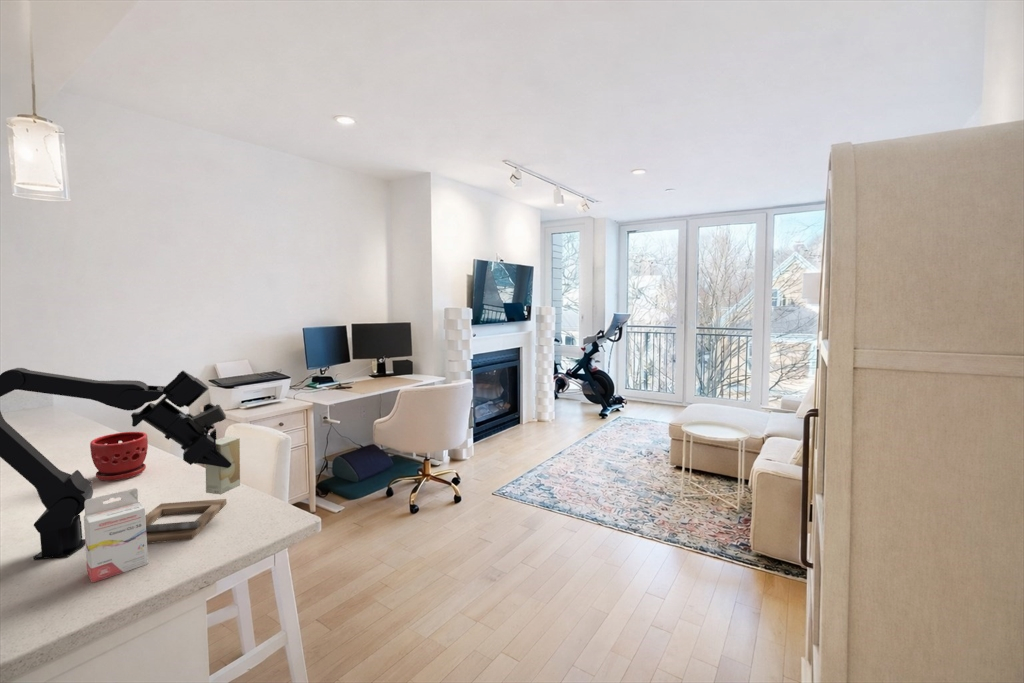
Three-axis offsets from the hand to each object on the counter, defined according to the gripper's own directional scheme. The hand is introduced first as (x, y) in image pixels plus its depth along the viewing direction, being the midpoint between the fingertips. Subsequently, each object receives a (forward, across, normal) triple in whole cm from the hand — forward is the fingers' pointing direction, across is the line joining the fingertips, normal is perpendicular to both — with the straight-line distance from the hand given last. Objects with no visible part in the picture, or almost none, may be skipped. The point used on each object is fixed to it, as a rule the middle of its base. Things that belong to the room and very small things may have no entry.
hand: (229, 461), depth 112 cm
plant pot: (-9, +48, +29) cm, 57 cm away
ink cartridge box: (-4, -15, +24) cm, 28 cm away
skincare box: (+4, 0, +6) cm, 7 cm away
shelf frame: (+2, +2, +18) cm, 18 cm away
